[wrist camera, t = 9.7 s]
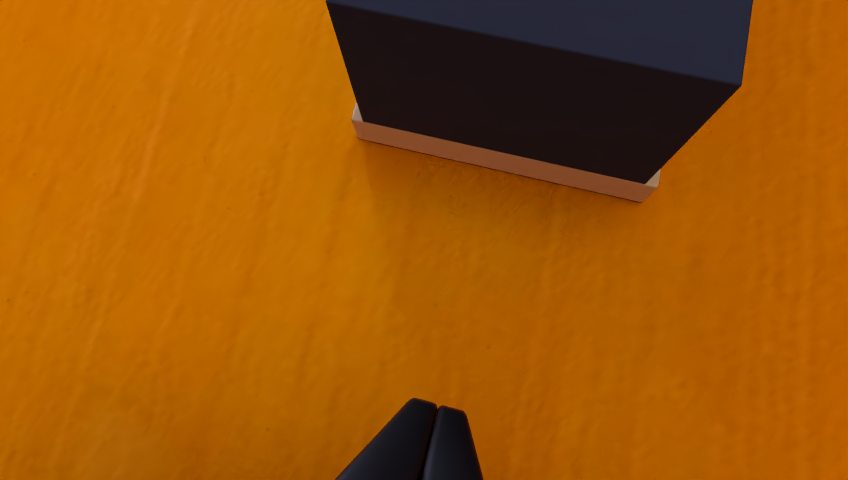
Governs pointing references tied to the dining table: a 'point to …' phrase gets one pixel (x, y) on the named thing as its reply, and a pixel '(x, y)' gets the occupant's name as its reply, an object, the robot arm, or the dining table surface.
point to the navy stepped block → (543, 81)
